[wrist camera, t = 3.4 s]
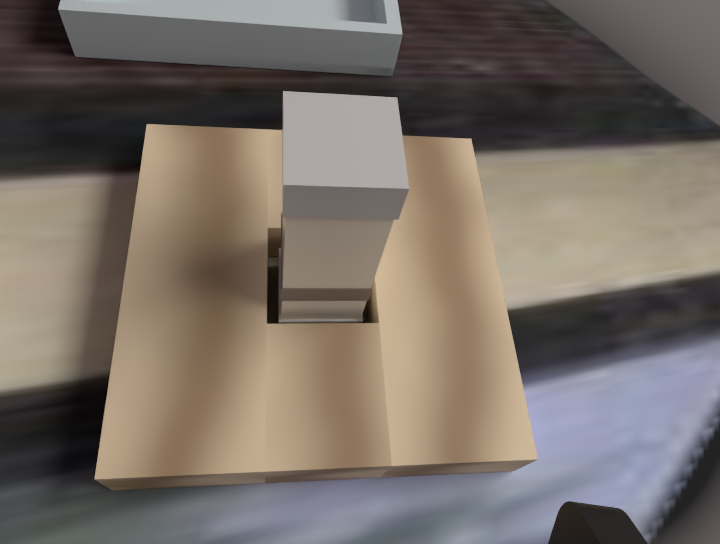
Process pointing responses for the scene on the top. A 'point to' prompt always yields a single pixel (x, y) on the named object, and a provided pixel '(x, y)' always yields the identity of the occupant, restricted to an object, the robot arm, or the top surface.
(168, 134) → the wooden board with hole
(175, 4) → the parts tray
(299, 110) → the block
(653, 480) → the top surface
